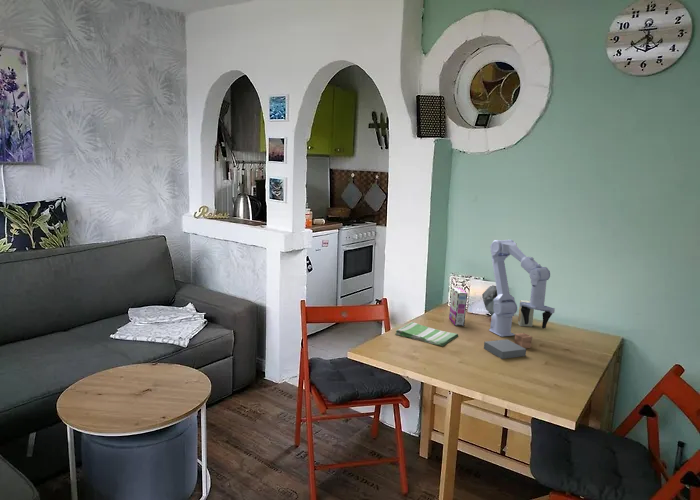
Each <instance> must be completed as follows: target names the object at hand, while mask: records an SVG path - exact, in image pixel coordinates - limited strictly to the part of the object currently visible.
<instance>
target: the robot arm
mask: <svg viewBox="0 0 700 500" xmlns="http://www.w3.org/2000/svg"><path fill="white" fill-rule="evenodd" d="M489 248H490V253H491V262H492V263H491V264H492V269H493V274H494V275H493V276H494V281H495V286H496V289H497V297H496V298H495V299H494V300H493V301H494V306H493V310H494V312H495V313H494V314H493V315H492V317H491V316H490V319H491V320H490V326H489V327H490V328H488V331H489V332H491V333H494V334H495V335H497V336H498V337H501V338H502V337H511V336H515V334H516V333H513V332H512V323H513V317H514V316H515V314H516V313H517V311H518V304H517V302H516V300H515V297H514V296H513V295H512V294H511V293H510V288H509V283H508V275H507V270H506V264H505V261H506V259H507V258H509V257H510V255H511V256H512V257H513V258H515V259H516V260H517V261H518V262H520V267H521V268H522V269H523V270H525V272H527V273H528V274H529V277H530V284H531V289H530V299H529V301H530V303H526V302H520V301H519V307H522V308H521V312H522V314H523V317H524V322H525V325H527V324H528V322H529V313H530V309H534V311H535V310H537V311H540V312H542V313H541V314H542V315H541V316H542V323H541V327H542V328H541V329H546V327H547V324H548V322H549V319H550V318H551V317H552V315H553V314H555V309H556V308H555V307H550V306H547V305H545V301H546V300H545V299H546V290H547V281H549V279H550V277H551V272H550V270H549V268H548V267H547V266H541V264H539V263H538V262H537V261H536V260H535V258H534V257H533V256H527V255H526V254H525V253H524V252H523V251H522V250H521V249H520V248H519V247H518V246H517V243H516V242H515V241H514V240H513V239H501V240H500V239H494V240H493V241H492V243H491V244H490V246H489ZM504 300H505V301H504ZM502 301H503V302H502Z"/></svg>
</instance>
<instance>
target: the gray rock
mask: <svg viewBox="0 0 700 500" xmlns="http://www.w3.org/2000/svg"><path fill="white" fill-rule="evenodd" d="M481 297H482V302H483V304H484V308H485V310H486V311H487V313H490V314H491V315H490V318H489V321H491V317H492V315H493V314H494V313H495V312H494V310H493V306H494V301H493V300H494V299H495V298H496V297H497V289H496V285H494V284H492V285H491V286H489V287H487V289H485V291H483V292H482V295H481ZM504 301H505V300H504ZM502 302H503V301H502Z"/></svg>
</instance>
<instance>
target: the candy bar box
mask: <svg viewBox="0 0 700 500" xmlns="http://www.w3.org/2000/svg"><path fill="white" fill-rule="evenodd" d="M450 294H451V296H450V302H449V303H450V304H449V305H450V306H449V315H448V320H449V321H450V322H451V323H452V324H453V325H454V326H456V327H457V326H458V327H459V326H460V327H464V326H465V324H466V323H465V322H466V319H465V318H466V313H467V311H466V310H467V303H468V293H467V292H466V291H465V290H464V289H462V288H461V287H451V293H450Z"/></svg>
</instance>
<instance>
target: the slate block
mask: <svg viewBox="0 0 700 500" xmlns="http://www.w3.org/2000/svg"><path fill="white" fill-rule="evenodd" d="M483 349H484V350H486V351H488V352H489V353H491V354H492V355H494V356H495V357H498V358H500V359H501V360H502V359H503V360H504V359H510V358H511V359H512V358H519V357H526V354H527V353H526V352H527V348H523V347H521V346H519V345H517V344H515V343H514V341H512V340H509V339H508V338H506V339H500V340H499V339H498V340H488V341H487V340H486V341H484V343H483Z"/></svg>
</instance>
